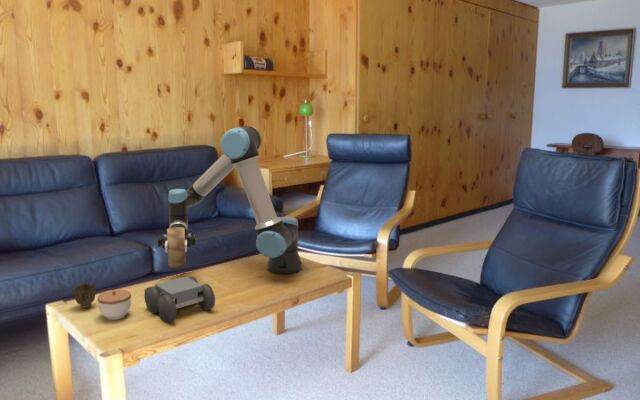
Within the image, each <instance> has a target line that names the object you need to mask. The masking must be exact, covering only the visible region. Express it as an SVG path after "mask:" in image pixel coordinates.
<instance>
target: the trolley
mask: <svg viewBox="0 0 640 400" xmlns="http://www.w3.org/2000/svg"><path fill="white" fill-rule="evenodd" d="M143 296H144V303H145V306H146V308H147V310H148V311H149V312H150V313H151V314H154V313H158V314H159V317H160V319H161V320H162V322H164V323H169V322H172V321H174V320H176V319H177V314H178V313H177V312H178V311H177V309H180V308H183V307H188V306H191V305H194V304H197V305H198V307H199V308H200V309H201V310H202V311H208V310H211V309H213V308H214V307H215V304H216V297H215V294H214V290H213V288H212V287H211V286H210V284H208V283H205V284H204V283H203V284H201V283H199V282H198V280H197V278H195V277H194V276H189V277H188V276H182V277H179V278H175V279H170V280H166V281H162V282H159V283H156V284H154V285H153V286H149V287H146V288H145V290H144V295H143Z"/></svg>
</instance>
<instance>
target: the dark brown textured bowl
mask: <svg viewBox="0 0 640 400" xmlns="http://www.w3.org/2000/svg"><path fill="white" fill-rule="evenodd" d="M96 286H97V285H96V284H94V283H92V285H90V283H89V282H88V283H87V282H84V283H83V284H82V283H80V285H79V284H76V285H74V287H72V291H73V296H74V299H75V302H76V303H77V304H78V305H79V307H80V308H81V309H83V310H87V309H90V308H91V307H92V303H93V302H94V301H95V299H96Z"/></svg>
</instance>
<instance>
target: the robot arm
mask: <svg viewBox="0 0 640 400" xmlns="http://www.w3.org/2000/svg"><path fill="white" fill-rule="evenodd" d="M261 146H262V136H261V134H260V132H259V131H258V130H257V128H255V127H253V126H250V125H245V126H238V127H237V126H236V127H233V128H231V129H229V130H227V131H225V133H224V134H223V136H222V137H221V139H220V148H221V151H222V153H223V154H222V155H221V156H219V158H217V160H216V161H215V162H214V163H212V165H211V166H210V167H209V168H208V169H206V171H205V172H204V173H203V174H202V175H201V176H200V177H199V178H198V179H196V181H194V182H193V184H191V186H190V187H189V188H188V189H184V188H174V189H170V190H169V191H168V197H167V200H168V214H169V215H168V218H169V219H168V222H169V227H168V228H172V227H182V228H184V229H185V253H186V252H188V248H190V247H191V245H192V246H195V245H196V234H195V232H193V231H192V232H191V233H190V232H188V231H189V229H188V228H189V222H188V220H189V218H188V209H189V208H192V207H194V206H197V205H199V204H200V203H202V202H203V201H204V199H205V197H206V196H207V195H208V194H209V193H210V192H212V190H213V189H214V188H215V187H216V186H217V185H218V184H219V183H220V182H221V181H222V180H223V179H225V178H226V177H227V176H228V175H229V174H230V173H231V172H232V171H233V170H234V169H235V168H236V169H237V172H238V174H239V178H240V179H241V183H242V186H243V188H244V191H245V193H246V197H247V199H248V202H249V205H250V208H251V211H252V214H253V216H254V220H255V223H256V225H255V227H254V230H255V233H256V235H257V236H256V239H255V240H256V241H255V247H256V249H257V251H258V252H259V254H260V255H262V256H264V257H266V258H268V261H267V264H266V265H267V267H266V269H267V271H268V272H270V273H273V274H278V275H290V274H295V273H298V272H300V271H301V270H302V268H303V265H302V260H301V258H300V255H299V221H298V219H297V218H294V217H290V216H289V217H288V216H277V213H276V211H275V208H274V204H273V203H272V199H271V196H270V194H269V190H268V188H267V185H266V182H265V179H264V177H263V176H264V175H263V173H262V170H261V168H260V165H259V162H258V160H259V157H260V153H259V151H258V150H259V149H260V147H261ZM157 247H158V248H159V247H160V248H161V247H162V249H163V250H164V253H165V254H166V253H167V254H168V242H167V234H164V233H159V238H158V239H157Z"/></svg>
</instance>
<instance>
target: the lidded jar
mask: <svg viewBox="0 0 640 400" xmlns="http://www.w3.org/2000/svg"><path fill="white" fill-rule="evenodd" d="M96 298H97V303H98V304H97V305H98V309H99V312H100V314H102V316H103V317H105V319H106V320H110V321H116V320H117V321H118V320H121V319H124V317H126V314H128V312H129V311H130V308H131V304H132V293H131V292H130V290H127V289H120V288H119V289H118V288H117V289H110V290H106V291H104V292H101V293H100V294H98V295H97V297H96Z"/></svg>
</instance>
